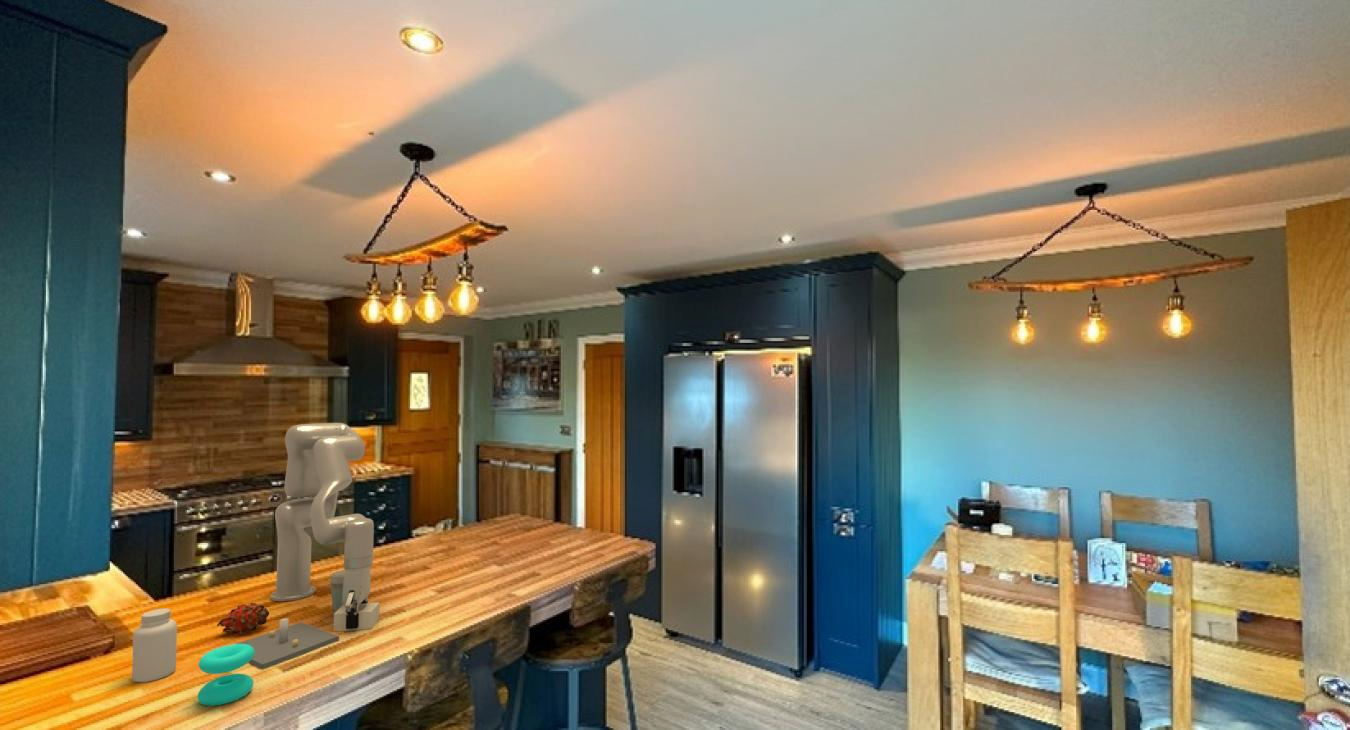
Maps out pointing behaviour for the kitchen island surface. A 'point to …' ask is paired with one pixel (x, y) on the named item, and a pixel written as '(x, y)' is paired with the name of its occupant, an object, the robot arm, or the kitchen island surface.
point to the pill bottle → (154, 646)
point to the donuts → (227, 685)
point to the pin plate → (287, 643)
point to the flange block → (366, 617)
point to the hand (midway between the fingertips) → (356, 622)
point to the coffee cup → (337, 589)
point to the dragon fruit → (244, 618)
